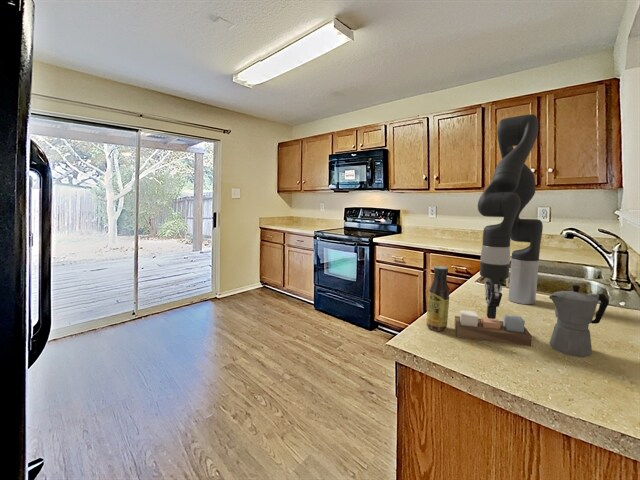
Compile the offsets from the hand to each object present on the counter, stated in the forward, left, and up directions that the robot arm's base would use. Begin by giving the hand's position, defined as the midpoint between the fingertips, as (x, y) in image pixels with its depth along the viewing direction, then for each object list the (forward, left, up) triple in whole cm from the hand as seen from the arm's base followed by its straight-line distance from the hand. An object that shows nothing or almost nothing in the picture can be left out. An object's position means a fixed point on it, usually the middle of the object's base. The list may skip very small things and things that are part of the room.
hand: (491, 317), depth 95 cm
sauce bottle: (0, -15, -6) cm, 16 cm away
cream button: (0, -6, -3) cm, 7 cm away
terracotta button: (0, 0, -5) cm, 5 cm away
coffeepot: (+3, +20, -6) cm, 21 cm away
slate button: (0, +6, -3) cm, 7 cm away
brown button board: (0, 0, -5) cm, 5 cm away
